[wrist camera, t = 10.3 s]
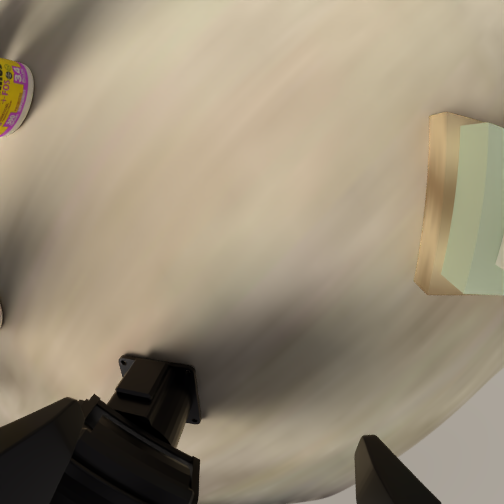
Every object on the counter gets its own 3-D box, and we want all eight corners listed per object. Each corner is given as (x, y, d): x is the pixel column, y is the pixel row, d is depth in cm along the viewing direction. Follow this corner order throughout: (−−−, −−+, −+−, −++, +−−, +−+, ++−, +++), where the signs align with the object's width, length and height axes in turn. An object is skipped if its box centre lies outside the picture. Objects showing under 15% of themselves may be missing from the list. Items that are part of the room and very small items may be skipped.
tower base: (515, 280, 19) (535, 293, 16) (410, 277, 20) (427, 295, 17) (532, 148, 16) (556, 149, 13) (425, 117, 17) (446, 111, 14)
